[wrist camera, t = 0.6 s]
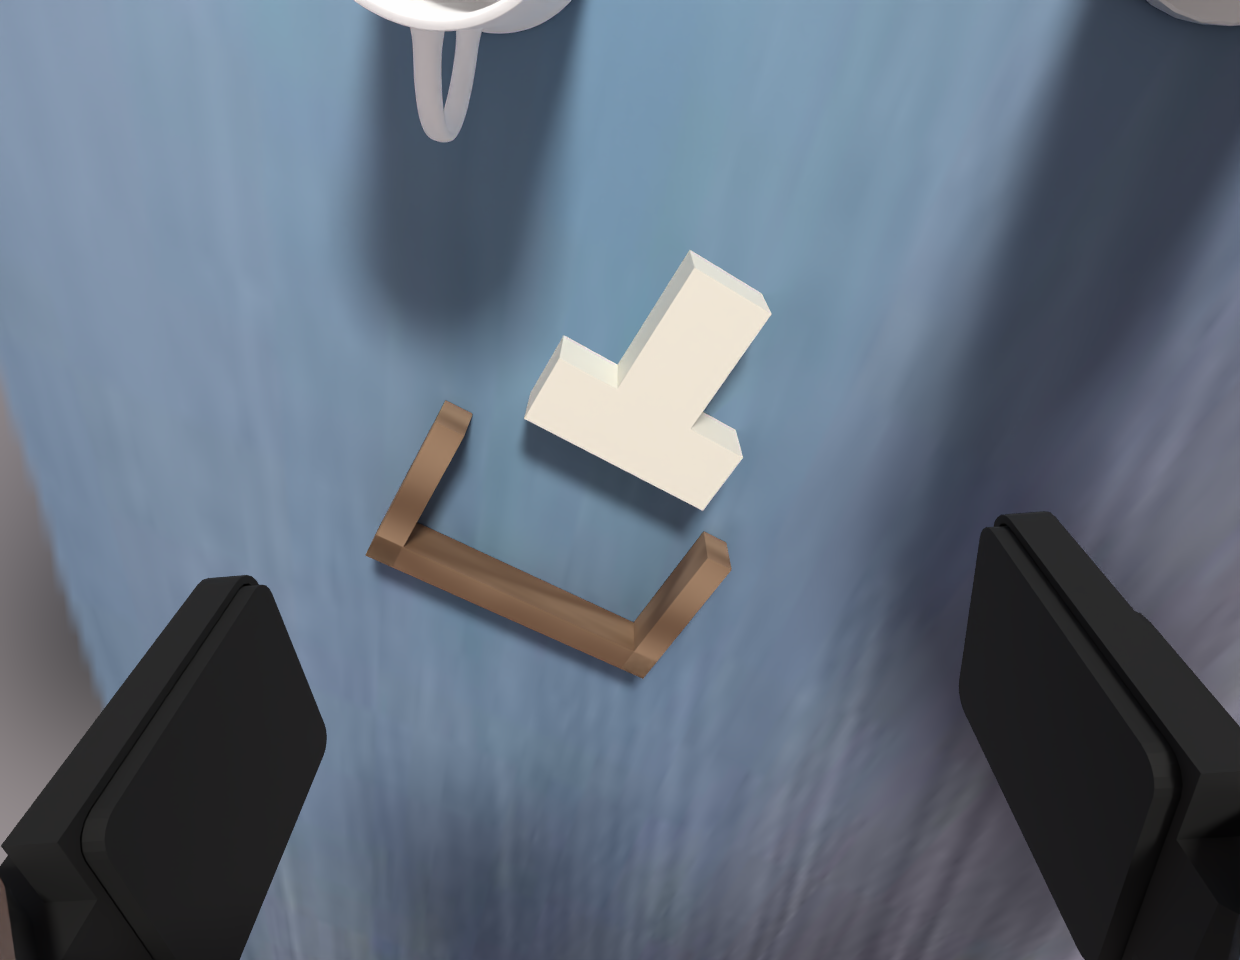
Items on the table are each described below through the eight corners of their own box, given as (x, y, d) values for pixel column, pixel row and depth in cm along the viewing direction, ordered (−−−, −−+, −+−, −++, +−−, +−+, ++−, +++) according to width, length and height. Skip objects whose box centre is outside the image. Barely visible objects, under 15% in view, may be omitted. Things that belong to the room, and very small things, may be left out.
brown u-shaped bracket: (445, 400, 41) (435, 421, 38) (726, 542, 45) (731, 569, 43) (378, 529, 44) (365, 555, 42) (642, 649, 49) (643, 678, 46)
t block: (633, 215, 36) (633, 230, 33) (812, 324, 39) (826, 346, 36) (530, 392, 40) (524, 418, 38) (698, 480, 43) (702, 510, 40)
